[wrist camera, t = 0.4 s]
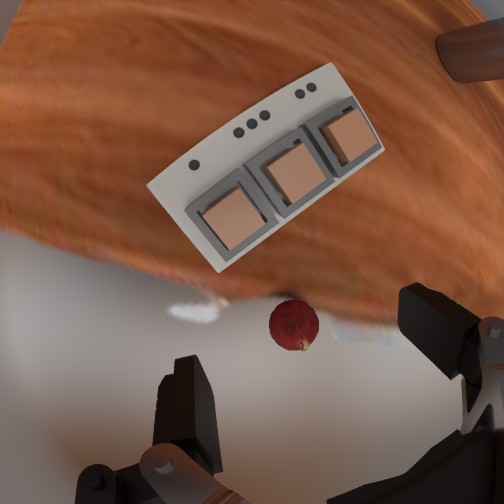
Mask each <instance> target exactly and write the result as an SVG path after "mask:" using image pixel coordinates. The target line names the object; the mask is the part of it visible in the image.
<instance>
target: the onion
mask: <svg viewBox="0 0 504 504" xmlns="http://www.w3.org/2000/svg"><path fill="white" fill-rule="evenodd" d="M269 329H270V334H271V336H272V338H273V339H274V340H275V342H276V343H277V344H278V345H279V346H281V347H283V348H284V349H287V350H301V351H305V350H307V349H308V347H309V345H310V344H311V343H312V342H313V341H314V339H315V338H316V336H317V334H318V331H319V319H318V317H317V315H316V313H315V311H314V309H313V308H312V307H310V306H309V305H308V304H307V303H305V302H303V301H299V300H288V301H284V302H283V303H281V304H279V305H278V306H277V307H276V308H275V310H274V311H273V312H272V313H271V316H270V320H269Z"/></svg>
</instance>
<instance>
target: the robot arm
mask: <svg viewBox="0 0 504 504" xmlns="http://www.w3.org/2000/svg"><path fill="white" fill-rule="evenodd" d="M437 49H438V53H439V56H440V59H441V61H442V63H443V65H444V67H445V68H446V70H447V71H448V73H449V74H450V75H451V76H452V77H453V78H454V79H455V80H456V81H458V82H459V83H463V84H464V83H472V82H481V81H491V80H502V79H504V17H503V18H498V19H494V20H490V21H486V22H482V23H478V24H474V25H471V26H468V27H464V28H461V29H458V30H454V31H451V32H448V33H446V34H443V35H440V36H439V37H438V40H437ZM398 326H399V329H400V331H401V333H402V334H403V335H404V336H405V337H406V338H407V339H408V340H409V341H411V342H412V343H413V344H414V345H415V346H416V347H417V348H418V349H419V350H420V351H421V352H422V353H423V354H424V355H425V356H426V357H427V358H428V359H430V361H432V362H433V363H434V364H435V365H436V366H437V367H438V368H439V369H440V370H441V371H442V372H443V373H444V374H445V375H446V376H447V377H448V378H449V379H450V380H452V379H453V378H455V377H456V376H457V375H459V374H462V375H463V377H462V380H461V386H462V406H463V422H462V426H461V430H460V431H459V430H458V429H457V430H456V431H455V432H453V433H452V434H450V435H449V436H448V437H446V438H445V439H444V440H442V441H441V442H439V443H438V444H436V445H435V446H433V447H432V448H431V449H430V450H429V451H428V452H427V453H426V454H425V455H424V456H423V457H422V458H421V459H420V460H419V461H418V462H417V463H416V464H415V465H414V466H413V467H411V468H410V469H409V470H408V471H407V472H406V473H404V474H403V475H400V476H396V477H393V478H389V479H385V480H382V481H378V482H374V483H370V484H365V485H363V486H360V487H358V488H356V489H353V490H351V491H349V492H346V493H344V494H341V495H338V496H336V497H333V498H330V499H327V504H504V320H503V319H501V318H498V317H487V318H484V319H483V320H481V319H480V318H479V317H477V316H476V315H474V314H473V313H471V312H470V311H468V310H467V309H465V308H464V307H462V306H461V305H459V304H457V303H456V302H455V301H453V300H452V299H451V300H450V298H449V297H447V296H446V295H444V294H442V293H441V292H438V291H434V290H431V289H428V288H426V287H425V286H423V285H422V284H420V283H418V282H415V283H413V284H410V285H408V286H406V287H404V288H401V289H400V291H399V306H398ZM157 398H158V400H157V403H156V408H157V409H156V413H155V423H154V433H153V434H154V435H153V444H152V447H150V448H149V449H147V450H146V451H145V452H144V454H143V455H142V457H141V459H140V462H139V463H137V464H135V465H132V466H129V467H126V468H123V469H120V470H116V471H113V470H112V469H110V468H109V467H108V466H105V465H102V464H94V465H91V466H88V467H87V468H85V469H84V470H83V471H82V472H81V474H80V476H79V478H78V483H77V490H76V497H75V504H252V503H250V502H249V501H247V500H246V499H245V498H243V497H242V496H240V495H239V494H237V493H236V492H234V491H232V490H229V489H228V488H226V487H225V486H224V485H222V484H221V483H220V482H219V481H217V480H216V479H215V478H214V473H219V472H223V468H222V461H221V453H220V446H219V438H218V430H217V421H216V412H215V402H214V396H213V391H212V388H211V386H210V383H209V381H208V379H207V377H206V374H205V372H204V370H203V368H202V366H201V363H200V361H199V359H198V357H197V356H196V355H191V356H187V357H182V358H178V359H175V363H174V374H170V375H165V377H164V378H163V380H162V381H161V383H160V385H159V387H158V395H157Z"/></svg>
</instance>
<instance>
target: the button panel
mask: <svg viewBox="0 0 504 504" xmlns="http://www.w3.org/2000/svg"><path fill="white" fill-rule="evenodd" d="M355 108H358V109H359V111H360V112H361V114H362V116H363V117H364V119H365V121H366V122H367V124H368V126H369V128H370V129H371V131H372V133H373V135H374V137H375V138H376V140H377V142H378V143H376V144H375V145H373V146H372V147H371V148H369V149H368V150H366V151H365V152H364V153H362V154H361V155H359V156H358V157H357V158H355V159H354V160H352V161H351V162H340V160H339V159H338V157H337V155H336V154H335V152H334V150H333V149H332V147H331V145H330V144H329V142H328V141H327V139H326V137H325V136H324V134H323V133H322V131H321V130H320V128H321V127H323V126H324V125H326V124H328V123H329V122H331V121H332V120H334V119H336V118H337V117H339V116H340V115H342V114H344V113H345V112H347V111H348V110H352V109H355ZM299 143H304V145H305V146H306V148H307V149H308V151H309V152H310V154H311V155H312V157H313V158H314V160H315V162H316V163H317V165H318V166H319V168H320V169H321V171H322V173H323V174H324V176H325V178H326V180H325V181H323V182H322V183H321V184H319V185H318V186H317V187H315V188H314V189H312V190H311V191H310V192H308V193H307V194H306V195H304V196H303V197H301V198H300V199H299V200H297V201H296V202H295V203H293V204H292V203H290V202H287V201H286V200H285V198H284V197H283V195H282V194H281V192H280V191H279V189H278V188H277V187H276V185H275V184H274V182H273V181H272V179H271V178H270V177H269V175H268V174H267V172H266V171H265V169H264V168H263V167H264V166H265V165H267V164H268V163H269V162H271V161H272V160H274V159H275V158H277V157H278V156H279V155H281V154H282V153H284V152H285V151H287V150H288V149H290V148H291V147H293V146H294V145H296V144H299ZM384 150H385V148H384V146H383V145H382V143H381V141H380V139H379V137H378V135H377V133H376V132H375V130H374V128H373V126H372V124H371V123H370V121H369V119H368V117H367V116H366V114H365V112H364V111H363V109H362V107H361V106H360V104H359V102H358V101H357V99H356V98H355V96H354V95H353V93H352V91H351V90H350V88H349V87H348V85H347V84H346V82H345V81H344V79H343V78H342V76H341V75H340V74H339V72H338V71H337V69H336V68H335V66H334V65H333V64H332V62H330V63H328V64H326V65H324V66H322V67H320V68H318V69H316V70H315V71H313V72H311V73H309V74H307V75H305V76H303V77H301V78H300V79H298V80H296V81H294V82H292V83H291V84H289V85H287V86H285V87H284V88H282V89H280V90H278V91H277V92H275V93H273V94H272V95H270V96H268V97H267V98H265V99H263V100H262V101H260V102H258V103H257V104H255V105H254V106H252V107H251V108H249V109H247V110H246V111H244V112H243V113H241V114H240V115H238V116H237V117H235V118H234V119H232V120H231V121H229V122H228V123H226V124H225V125H223V126H222V127H221V128H219V129H218V130H216V131H215V132H213V133H212V134H211V135H209V136H208V137H206V138H205V139H204V140H202V141H201V142H200V143H198V144H197V145H196V146H194V147H193V148H192V149H190V150H189V151H188V152H186V153H185V154H184V155H182V156H181V157H180V158H179V159H177V160H176V161H175V162H174V163H172V164H171V165H170V166H169V167H167V168H166V169H165V170H164V171H162V172H161V173H160V174H159V175H158V176H156V177H155V178H154V179H153V180H152V181H150V182H149V183H148V184H147V185H146V186H147V187H148V188H149V190H150V191H151V192H152V193H153V195H154V196H155V197H156V198H157V200H158V201H159V202H160V203H161V205H162V206H163V207H164V208H165V210H166V211H167V212H168V213H169V215H170V216H171V217H172V218H173V220H174V221H175V222H176V223H177V224H178V226H179V227H180V228H181V229H182V231H183V232H184V233H185V234H186V235H187V237H188V238H189V239H190V240H191V241H192V243H193V244H194V245H195V246H196V247H197V249H198V250H199V251H200V252H201V253H202V255H203V256H204V257H205V258H206V259H207V261H208V262H209V263H210V264H211V265H212V266H213V268H214V269H215V270H216V271H217V272H218V273H220V272H221V271H222V270H224V269H225V268H227V267H228V266H229V265H231V264H232V263H233V262H235V261H236V260H237V259H239V258H240V257H241V256H243V255H244V254H245V253H247V252H248V251H249V250H251V249H252V248H253V247H255V246H256V245H257V244H259V243H260V242H261V241H263V240H264V239H265V238H267V237H268V236H270V235H271V234H272V233H274V232H275V231H276V230H278V229H279V228H280V227H282V226H283V225H284V224H286V223H287V222H288V221H290V220H291V219H292V218H294V217H295V216H296V215H298V214H299V213H300V212H302V211H303V210H305V209H306V208H307V207H309V206H310V205H311V204H313V203H314V202H315V201H317V200H318V199H319V198H321V197H322V196H323V195H325V194H326V193H327V192H329V191H330V190H332V189H333V188H334V187H336V186H337V185H338V184H340V183H341V182H342V181H344V180H345V179H346V178H348V177H349V176H350V175H352V174H353V173H355V172H356V171H357V170H359V169H360V168H361V167H363V166H364V165H365V164H367V163H368V162H369V161H371V160H372V159H374V158H375V157H376V156H378V155H379V154H380V153H382V152H383V151H384ZM236 186H238V187H239V188H240V189H241V191H242V192H243V193H244V195H245V196H246V197H247V199H248V200H249V201H250V203H251V204H252V205H253V207H254V208H255V210H256V211H257V212H258V214H259V215H260V216H261V218H262V219H263V221H264V222H265V223H266V224H265V225H263V226H262V227H261V228H259V229H258V230H257V231H255V232H254V233H253V234H251V235H250V236H249V237H247V238H246V239H245V240H243V241H242V242H241V243H239V244H238V245H237V246H235V247H234V248H233V249H231V250H229V249H228V248H227V246H226V245H225V244H224V243H223V241H222V240H221V239H220V238H219V236H218V235H217V234H216V233H215V231H214V230H213V229H212V228H211V226H210V225H209V224H208V223H207V221H206V220H205V219H204V218H203V216H202V212H203V211H204V210H206V209H207V208H208V207H210V206H211V205H212V204H213V203H215V202H216V201H217V200H219V199H220V198H221V197H223V196H224V195H225V194H227V193H228V192H229V191H231V190H232V189H233V188H235V187H236Z"/></svg>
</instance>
